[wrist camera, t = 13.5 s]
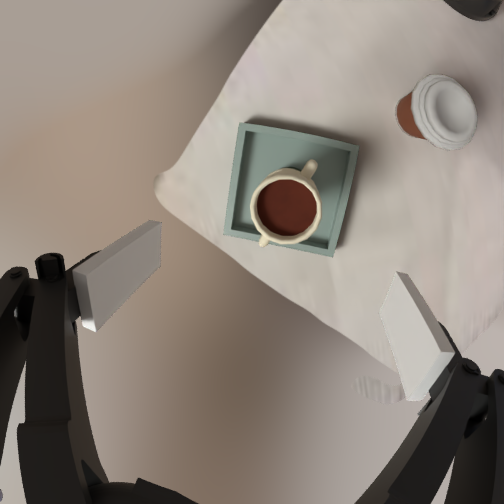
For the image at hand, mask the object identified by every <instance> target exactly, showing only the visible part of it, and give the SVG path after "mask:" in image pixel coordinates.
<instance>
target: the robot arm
mask: <svg viewBox="0 0 504 504" xmlns="http://www.w3.org/2000/svg"><path fill="white" fill-rule="evenodd" d="M444 1H445V2H446V3H447V4H448V5H449V6H451V7H452V8H453V9H455V10H456V11H458V12H459V13H461V14H462V15H464V16H466V17H468V18H470V19H473V20H477V21H485V20H488V19H489V18H491V17H493V16H494V15H495V14H496V13H497V11H498V9H499V7H500V5H501V3H502V1H503V0H444ZM161 225H162V222H157V221H153V220H149V221H147V222H146V223H144V224H142V225H141V226H139V227H137V228H136V229H134V230H133V231H131V232H129V233H128V234H126V235H125V236H123V237H121V238H120V239H118V240H117V241H115V242H114V243H112V244H111V245H109V246H107V247H106V248H104V249H103V250H100V251H97V252H94V253H92V254H90V255H88V256H87V257H86V258H85V259H82V260H81V261H80V262H78V263H77V264H75V265H74V266H72V267H71V268H69V269H68V270H66V271H65V265H64V258H63V256H62V255H61V254H59V253H47V254H44V255H41V256H40V257H38V258H37V259H36V260H35V265H36V270H37V275H38V279H33V278H29V273H28V269H27V268H25V267H15V268H14V267H13V268H11V269H10V270H8V271H7V272H6V273H5V274H4V275H3V276H2V278H1V279H0V465H1V459H2V454H3V449H4V443H5V437H6V432H7V427H8V422H9V418H10V413H11V409H12V405H13V401H14V397H15V394H16V390H17V387H18V383H19V380H20V377H21V373H22V371H23V368H24V365H25V361H26V373H25V422H24V423H19V425H18V427H17V442H18V454H19V462H20V470H21V477H22V483H23V488H24V493H25V498H26V503H27V504H198V503H196V502H194V501H192V500H190V499H188V498H187V497H185V496H183V495H181V494H179V493H178V492H176V491H173V490H170V489H167V488H164V487H161V486H158V485H156V484H153V483H151V482H148V481H145V480H143V479H141V478H138V479H137V481H136V483H135V484H134V483H125V482H110V483H109V481H108V478H107V476H106V474H105V472H104V469H103V468H102V466H101V463H100V460H99V458H98V454H97V450H96V446H95V443H94V439H93V435H92V430H91V426H90V422H89V417H88V412H87V406H86V401H85V395H84V389H83V383H82V376H81V367H80V359H79V349H78V336H77V325H76V321H75V320H76V319H77V318H78V317H79V316H81V320H82V324H83V327H85V328H88V329H90V330H92V331H95V332H97V331H98V330H99V329H100V328H101V327H102V326H103V324H104V323H105V322H106V321H107V320H108V319H109V318H110V317H111V316H112V315H113V314H114V313H115V312H116V311H117V310H118V309H119V307H121V306H122V304H123V303H124V302H125V301H126V300H127V299H128V298H129V297H130V296H131V295H132V294H133V293H134V292H135V291H136V290H137V289H138V288H139V287H140V286H141V285H142V284H143V283H144V282H145V281H146V280H147V279H148V278H149V277H150V276H151V275H152V274H153V273H154V272H155V271H156V270H157V269H158V268H159V267H160V259H161V258H160V257H161V256H160V255H161ZM379 314H380V317H381V320H382V323H383V326H384V328H385V331H386V334H387V337H388V340H389V343H390V346H391V349H392V352H393V355H394V358H395V361H396V365H397V368H398V371H399V374H400V378H401V381H402V385H403V388H404V392H405V395H406V399H407V400H408V401H421V400H422V399H423V398H424V397H425V395H426V394H427V393H428V391H429V393H430V396H431V398H430V400H429V401H428V402H427V403H426V405H425V406H424V407H423V408H422V410H420V412H419V413H418V415H420V416H419V417H418V419H417V421H416V422H415V424H414V426H413V427H412V429H411V430H410V432H409V434H408V435H407V437H406V438H405V440H404V441H403V443H402V444H401V446H400V447H399V449H398V450H397V451H396V453H395V454H394V456H393V457H392V459H391V460H390V461H389V463H388V464H387V465H386V467H385V468H384V469H383V470H382V472H381V473H380V474H379V476H378V477H377V478H376V479H375V481H374V482H373V483H372V484H371V485H370V487H369V488H368V489H367V490H366V491H365V492H364V494H363V495H362V496H361V497H360V498H359V499H358V500H357V501H356V503H355V504H431V502H432V500H433V499H434V497H435V495H436V493H437V491H438V489H439V487H440V485H441V483H442V482H443V480H444V478H445V476H446V474H447V472H448V469H449V467H450V465H451V463H452V461H453V458H454V456H455V458H454V464H453V469H452V474H451V479H450V483H449V487H448V491H447V495H446V499H445V502H444V504H504V371H503V370H500V369H495V370H494V372H493V373H492V374H491V376H490V377H488V376H484V375H481V371H480V369H479V367H478V366H477V364H476V363H474V362H473V361H472V360H469V359H468V358H462V356H461V354H460V352H459V351H458V349H457V347H456V345H455V343H454V342H453V340H452V338H451V336H450V335H449V333H448V331H447V330H446V328H445V327H444V326H443V325H442V324H441V323H440V322H439V321H437V320H436V318H435V316H434V315H433V313H432V311H431V310H430V308H429V306H428V305H427V303H426V302H425V300H424V298H423V297H422V295H421V294H420V292H419V291H418V289H417V288H416V286H415V285H414V283H413V282H412V280H411V279H410V277H409V276H408V274H405V273H400V272H396V273H395V275H394V278H393V280H392V283H391V285H390V288H389V290H388V293H387V295H386V298H385V300H384V303H383V305H382V307H381V310H380V312H379ZM14 315H15V316H14ZM485 419H486V420H485ZM2 498H3V494H2V491H1V489H0V501H1V500H2Z"/></svg>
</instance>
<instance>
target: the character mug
mask: <svg viewBox="0 0 504 504" xmlns="http://www.w3.org/2000/svg"><path fill="white" fill-rule="evenodd" d="M317 165H318V164H317V162H316V161H315V160H313V159H310V160H309V161H307V163H306V165H305V166H304V168H303V169H302V170H300V169H298V168H295V167H285V168H281V169H278V170H276V171H274V172H272V173H270V174H269V175H268V176H267V177H266V178H265V179H264V180H263V181H262V182H261V183H260V184H259V186H258V187H257V188H256V190H255V191H254V193H253V195H252V198H251V203H250V211H251V218H252V220H253V222H254V224H255V226H256V228H257V230H258V231H259V232H260V233H261V237H260V239H259V245H260V246H261V247H265V246H267V245H268V243H269V242H270V241H273V242H276V243H278V244H296V243H299V242H301V241H304V240H306V239H308V238H309V237H310V236H311V235H312V234H313V233H314V232H315V231H316V230H317V228H318V226H319V224H320V221H321V219H322V200H321V197H320V195H319V192H318V190H317V187H316V185H315V183H314V181H313V180H312V179H311V177H312V176H313V174H314V172H315V171H316V169H317Z"/></svg>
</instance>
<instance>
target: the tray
mask: <svg viewBox="0 0 504 504" xmlns="http://www.w3.org/2000/svg"><path fill="white" fill-rule="evenodd" d="M359 147H360V146H357V145H353V144H350V143H346V142H342V141H338V140H334V139H329V138H325V137H320V136H316V135H311V134H306V133H302V132H296V131H291V130H286V129H280V128H274V127H268V126H262V125H255V124H248V123H240V122H239V127H238V134H237V140H236V147H235V153H234V160H233V167H232V174H231V181H230V188H229V195H228V203H227V210H226V218H225V225H224V233H223V235H228V236H233V237H237V238H242V239H247V240H252V241H257V242H259V239H260V237H261V233H260V232H259V231H258V230H257V228H256V226H255V224H254V222H253V220H252V218H251V211H250V203H251V198H252V195H253V193H254V191H255V190H256V188H257V187H258V186H259V184H260V183H261V182H262V181H263V180H264V179H265V178H266V177H267V176H268V175H269V174H270V173H272V172H274V171H276V170H278V169H281V168H285V167H295V168H298V169H300V170H302V169H303V168H304V166H305V165H306V163H307V161H309V160H310V159H313V160H315V161H316V162H317V164H318V165H317V169H316V171H315V172H314V174H313V176H312V177H311V179H312V180H313V181H314V183H315V185H316V187H317V190H318V192H319V195H320V197H321V200H322V219H321V221H320V224H319V226H318V228H317V230H316V231H315V232H314V233H313V234H312V235H311V236H310V237H309V238H308V239H306V240H304V241H301V242H299V243H296V244H278V243H276V242H273V241H270V242H269V243H268V244H272V245H276V246H281V247H286V248H291V249H296V250H300V251H305V252H310V253H314V254H319V255H324V256H329V257H333V255H334V252H335V248H336V244H337V241H338V237H339V233H340V230H341V226H342V222H343V218H344V214H345V210H346V206H347V202H348V198H349V193H350V189H351V185H352V180H353V176H354V171H355V167H356V162H357V157H358V152H359Z"/></svg>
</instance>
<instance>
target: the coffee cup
mask: <svg viewBox="0 0 504 504" xmlns="http://www.w3.org/2000/svg"><path fill="white" fill-rule="evenodd" d="M395 116H396V120H397V123H398V125H399V126H400V128H401V129H402V131H404V132H405V133H406V134H407V135H409V136H412V137H415V138H421V139H425V140H428V141H429V142H430V143H432V144H433V145H434V146H436V147H439V148H442V149H445V150H448V151H450V150H457V149H461V148H463V147H464V146H465V145H466V144H468V143H469V142H470V141H471V139H472V137H473V135H474V132H475V130H476V126H477V112H476V108H475V104H474V102H473V100H472V98H471V97H470V95H469V93H468V92H467V91H466V90H465V89H464V88H463V87H462V86H461V85H460V84H459V83H458V82H457V81H456V80H455V79H452V78H450V77H448V76H445V75H443V74H433V75H428V76H426V77H425V78H423V79H422V80H420V81H419V82H417V84H416V86H415V88H414V90H413V92H411V93H410V94H408V95H407V96H405V97H403V98H402V99H400V100H399V102H398V103H397V105H396V110H395Z"/></svg>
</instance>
